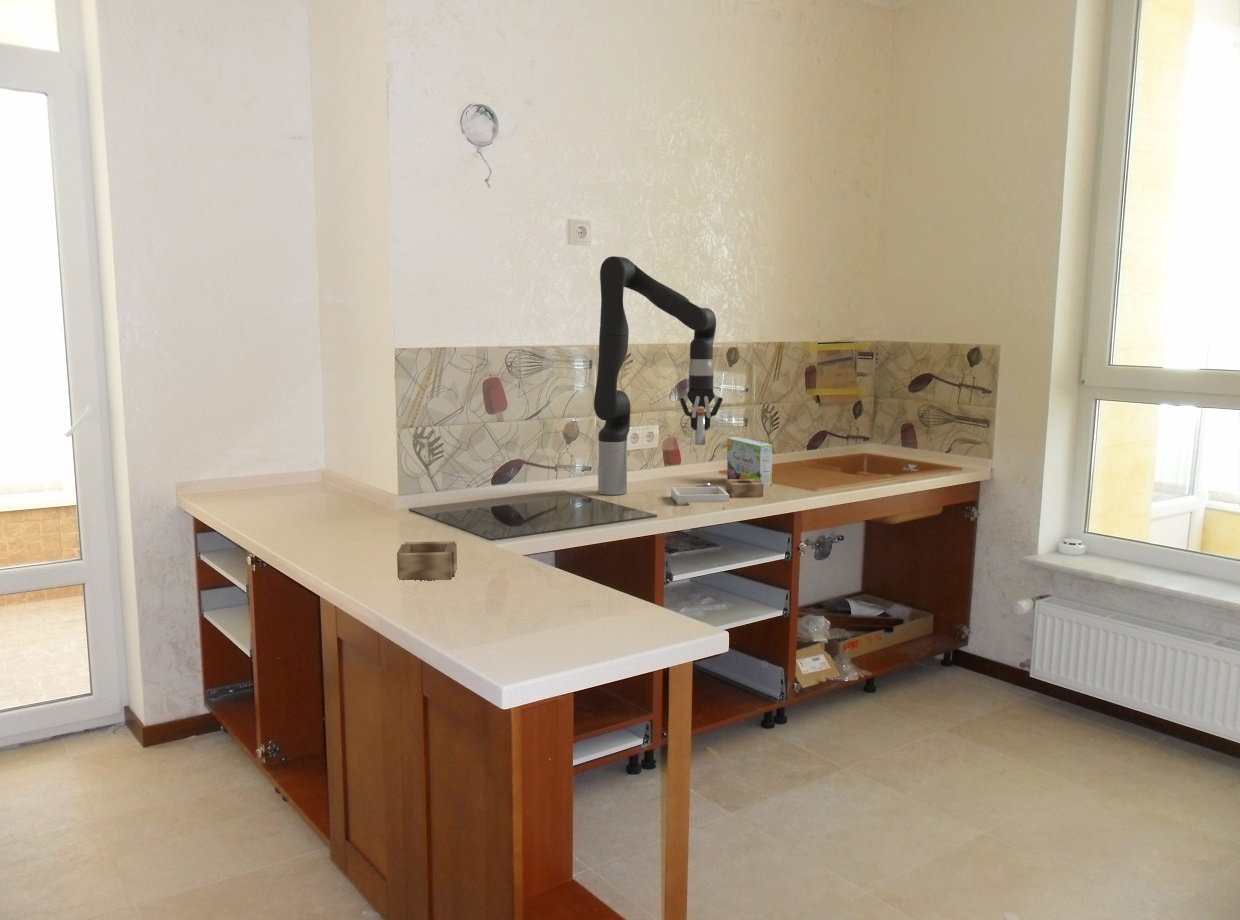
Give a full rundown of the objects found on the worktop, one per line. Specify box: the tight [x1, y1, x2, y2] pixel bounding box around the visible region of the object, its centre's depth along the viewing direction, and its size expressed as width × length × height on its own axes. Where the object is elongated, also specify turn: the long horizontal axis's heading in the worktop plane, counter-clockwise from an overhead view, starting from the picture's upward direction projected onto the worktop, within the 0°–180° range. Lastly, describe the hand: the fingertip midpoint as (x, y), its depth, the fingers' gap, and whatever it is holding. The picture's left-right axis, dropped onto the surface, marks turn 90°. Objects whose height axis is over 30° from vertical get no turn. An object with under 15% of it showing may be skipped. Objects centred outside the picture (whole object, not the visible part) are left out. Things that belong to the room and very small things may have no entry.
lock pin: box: [694, 407, 706, 446], centre depth 297 cm, size 4×4×11 cm
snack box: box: [726, 436, 773, 487], centre depth 329 cm, size 21×6×15 cm, turn 25°
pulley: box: [695, 482, 718, 487], centre depth 310 cm, size 7×7×4 cm
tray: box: [670, 486, 730, 506], centre depth 300 cm, size 16×14×3 cm
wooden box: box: [724, 478, 764, 499], centre depth 305 cm, size 10×10×5 cm
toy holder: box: [396, 540, 458, 581], centre depth 210 cm, size 12×12×7 cm
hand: (700, 429), depth 297 cm, fingers closed on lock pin, 3 cm apart
